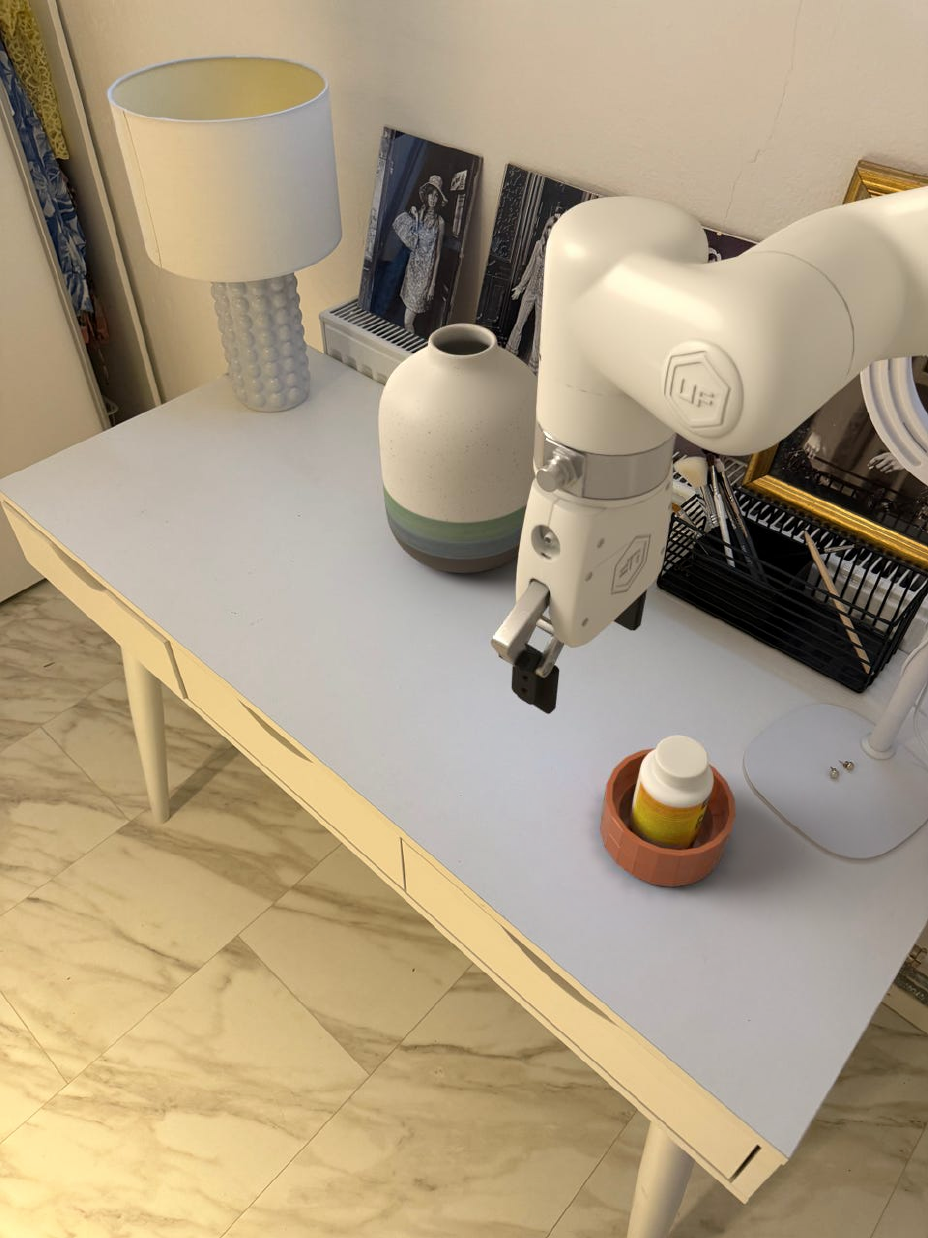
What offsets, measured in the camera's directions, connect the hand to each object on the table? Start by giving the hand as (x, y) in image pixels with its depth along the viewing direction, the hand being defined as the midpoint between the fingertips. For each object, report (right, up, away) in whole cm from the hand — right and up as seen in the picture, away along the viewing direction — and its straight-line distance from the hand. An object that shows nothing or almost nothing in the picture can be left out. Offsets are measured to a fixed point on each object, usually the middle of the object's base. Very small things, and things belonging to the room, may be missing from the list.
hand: (577, 658), depth 63 cm
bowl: (+9, -15, +14) cm, 22 cm away
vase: (-8, +12, +41) cm, 43 cm away
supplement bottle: (+9, -15, +14) cm, 22 cm away
